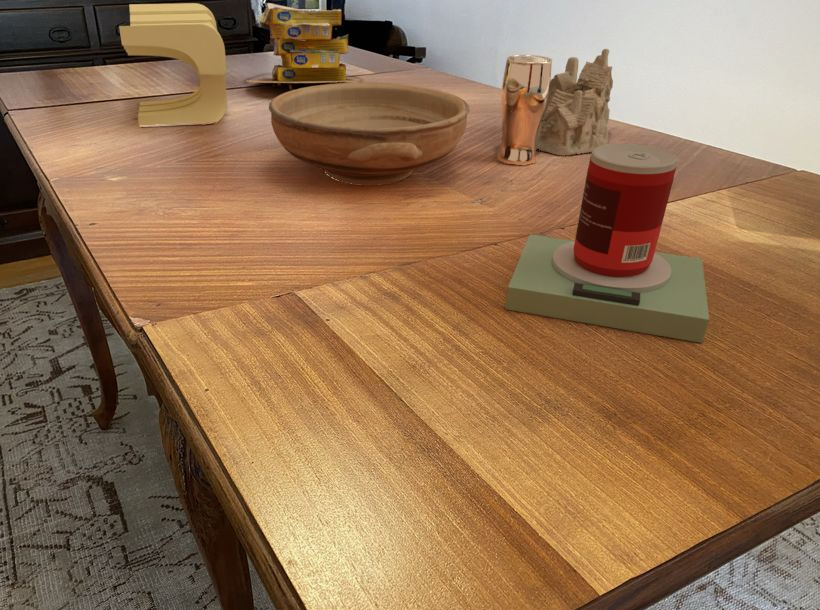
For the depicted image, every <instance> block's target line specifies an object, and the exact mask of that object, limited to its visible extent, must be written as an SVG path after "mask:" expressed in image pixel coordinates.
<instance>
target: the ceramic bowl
mask: <svg viewBox="0 0 820 610" xmlns="http://www.w3.org/2000/svg"><path fill="white" fill-rule="evenodd" d="M268 110H269V112H270V121H271V127H272V130H273V132H274V135H275V137H276V138H277V140H278V142H279V143H280V145H281V146H282V147H283V148H284V150H285V151H286V152H288V153H289V154H290V155H291V156H292V157H294V158H296V159H297V160H299V161H301V162H303V163H305V164H307V165H309V166H312V167H315V168H318V169H321V170H323V171H324V170H325V172H326V174H328V175H329V176H330V177H333V178H334V179H337V180H339V181H343V182H347V183H346V184H348V183H352V184H351V185H354V184H361V185H360V186H379V185H378V184H385V185H390V184H389V183H391V184H395V183H394V182H396V183H399V182H402V181H404V180H406V179H408V178H409V177H410V176H411V174H412V172H413V171H416V170H419V169H422V168H426V167H429V166H431V165H433V164H436V163H437V162H439V161H441V160H442V159H444V158H445V157H447V156H448V155H450V153H452V151H454V150H455V148H456V147H457V146H458V144H459V143H460V142H461V140H462V138H463V136H464V134H465V131H466V129H467V125H468V124H467V123H468V115H469V113H470V105H469V104H468V102H467V101H465V100H464V99H463V98H461V97H460V96H457V95H455V94H452V93H450V92H446V91H443V90H439V89H434V88H430V87H424V86H419V85H411V84H403V83H402V84H401V83H390V82H355V81H350V82H339V83H338V82H337V83H328V84H327V83H326V84H320V85H319V84H318V85H311V86H306V87H300V88H297V89H295V90H294V89H293V91H290V90H289V91H286V92H283V93H281V94H279V95H277V96H275V97H274V98H272V100H270V102H269V104H268ZM325 172H324V173H325ZM326 174H325V175H326ZM330 177H329V178H330ZM407 177H408V178H407ZM403 179H404V180H403ZM401 180H402V181H401ZM339 181H338V182H339ZM398 181H399V182H398ZM343 182H342V183H343Z"/></svg>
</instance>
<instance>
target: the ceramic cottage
mask: <svg viewBox="0 0 820 610" xmlns="http://www.w3.org/2000/svg"><path fill="white" fill-rule="evenodd" d="M609 54H610V49H609V48H603V49H602V51H601V54H599V55H596V57H595V58H594V61H593V62H590V61H586V62H585V64H584V65H583V68H582V69H581V72H580V73H579V58H578V57H575V56H571V57H569V58H568V59H567V62H566V65H565V68H564V69H565V70H564V72H561V73H556V74H555V75H553V78H551V81H550V89H549V95H548V100H547V104H546V108H545V111H544V114H543V117H542V120H541V123H540V126H539V130H538V134H537V139H536V150H537V149H539V150H538V151H540V150H541V152H542V151H543V152H546V153H548V154H552V155H554V154H560V155H559V156H561V155H562V156H565V155H566V156H572V155H576V154H577V155H581V154H580V153H582V154H587V153H588V154H589V152H590V153H592V151H593V149H595V148H596V147H599V146H602V145H607V144H609V122H610V111H611V110H610V108H609V102H610V101H611V91H612V89H613V87H614V86H613V85H614V80H613V77H612V76H613V75H612V71H613V66H609ZM578 73H579V75H578Z"/></svg>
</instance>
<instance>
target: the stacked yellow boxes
mask: <svg viewBox="0 0 820 610" xmlns="http://www.w3.org/2000/svg"><path fill="white" fill-rule="evenodd" d="M342 17H343V13H342V9H341V8H338V9H336V8H334V9H332V10H329V9H328V10H326V9H321V10H320V9H319V10H316V9H313V10H312V9H299V8H295V7H290V6H285V5H280V4H277V3H276V4H275V3H271V2H267V3H266V7H265V9H264V12H262V13H261V14H259V16H258V17H257V21H258V22H259V23H261V24H265V25H268V26H269V33H270V34H269V36H270V37H269V38H270V39H272V40H274V47H273V55H272V56H275V57H277V56H278V57H280V59H281V64H277V65H274V66H273V68H272V71H271V77H272V78H273V79H270V78H256V79H247V80H246V82H248V83H262V84H263V83H266V84H267V83H268V84H271V85H272V87H274V88H275V86H276V85H275V84H277V86H278V87H279V86H281V84H288V88H289V91H293V90H296V89H295V88H294V89H293V85H292V84H318V83H319V84H321V83H338V82H339V83H348V82H360V81H361V79H360V78H352V77H351V78H350V77H347V66H346V64H344V63H340V62H341V55H346V54H349V51H348V49H349V48H348V47H349V46H348V45H349V34H346V35H341V36H337V37H336V38H333V37H332V35H333V27H337V26H342V20H343V19H342ZM334 30H337V28H335V29H334Z"/></svg>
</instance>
